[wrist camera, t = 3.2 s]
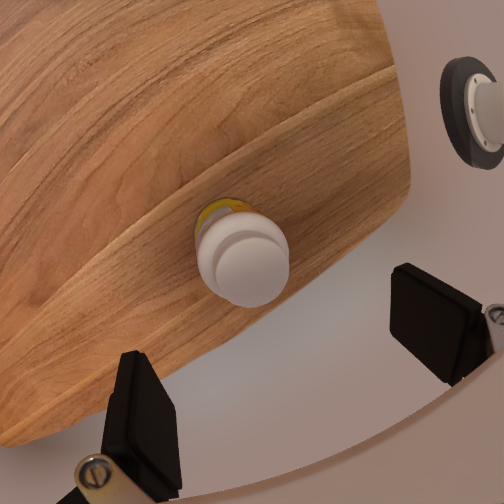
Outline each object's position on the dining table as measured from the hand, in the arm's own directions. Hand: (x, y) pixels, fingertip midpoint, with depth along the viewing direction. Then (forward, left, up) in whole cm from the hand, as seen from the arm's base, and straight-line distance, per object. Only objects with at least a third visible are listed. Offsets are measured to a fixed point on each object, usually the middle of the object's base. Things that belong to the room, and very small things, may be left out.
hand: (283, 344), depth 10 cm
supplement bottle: (0, 0, -16) cm, 16 cm away
